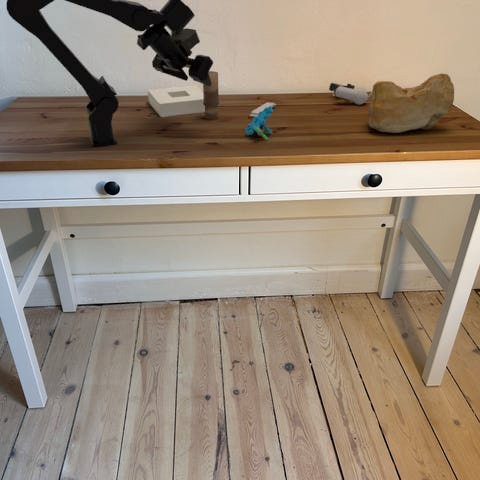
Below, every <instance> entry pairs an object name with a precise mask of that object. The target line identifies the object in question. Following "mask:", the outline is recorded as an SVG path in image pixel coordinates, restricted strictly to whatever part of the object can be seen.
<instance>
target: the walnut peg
mask: <svg viewBox="0 0 480 480" xmlns="http://www.w3.org/2000/svg"><path fill="white" fill-rule="evenodd" d="M208 73H209V77H210V80H211V86H210V87H209V86H206V85H204V84H202V86H203V87H202V88H203V89H202V91H203V97H204V102H203V104H204V106H205V112H204V117H205V120H207V121H208V120H209V121H214V120H217V119H219V107H218V106H219V105H220V102H219V101H220V97H219V72H218V71H212V70H209V72H208Z"/></svg>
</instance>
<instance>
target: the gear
mask: <svg viewBox="0 0 480 480" xmlns="http://www.w3.org/2000/svg"><path fill="white" fill-rule="evenodd" d="M273 111H274V109H272V107H271V106H269V107H268V108H267V107H266V108H265V109H264V110H263V112H262V111H260V112H259V113H258V116H257V117H254V118H253V119H251V121H252V122H250V123H248V125H247V128H245V130H244V132H245V135H246V136H247V137H248V136H249V135H250V136H251V135H253V134H254V133H255V132H256V135H258V136H261V137H262V138H263V139H264V140H265V141H268V140H269V138H268V137H267V135H266V134H264V131H265V132H266V133H268V135H272V134H273V131H272V130H271V129H270V128H269V127H268V126H267V125H266V122H267V121H266V119H270V117H271V116H272V113H273Z"/></svg>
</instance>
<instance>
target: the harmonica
mask: <svg viewBox="0 0 480 480" xmlns="http://www.w3.org/2000/svg"><path fill="white" fill-rule="evenodd" d="M269 106H271V107H272V109H273V110H275V109H276V108H278V104H277V103H274V102H265V103H263V104H262V105H260V106H258V107H257V108H255V109H253V110H252V111H251V112H250V114H249V115H248V117H247V119H250V120H252V119H253V118H254V117H257V116H258V113H259V112H260V111H262V112H263V110H264V109H265V108H266V107H267V108H268V107H269Z"/></svg>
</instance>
